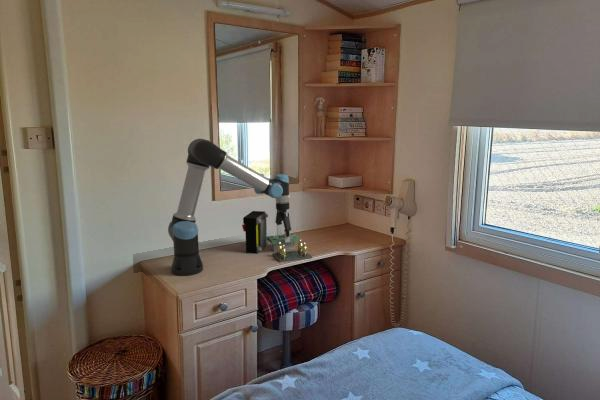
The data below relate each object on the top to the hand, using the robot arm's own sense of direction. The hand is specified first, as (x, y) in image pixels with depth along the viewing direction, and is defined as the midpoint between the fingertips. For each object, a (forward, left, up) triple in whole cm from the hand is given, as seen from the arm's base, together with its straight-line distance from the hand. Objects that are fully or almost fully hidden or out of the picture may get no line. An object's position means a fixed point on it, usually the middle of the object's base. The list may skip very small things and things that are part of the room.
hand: (283, 238), depth 247 cm
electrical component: (-14, +6, -6) cm, 17 cm away
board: (0, 0, -1) cm, 1 cm away
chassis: (0, -15, -6) cm, 16 cm away
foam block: (0, 0, -6) cm, 6 cm away
